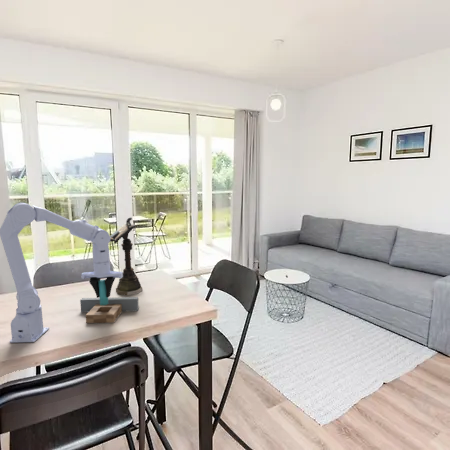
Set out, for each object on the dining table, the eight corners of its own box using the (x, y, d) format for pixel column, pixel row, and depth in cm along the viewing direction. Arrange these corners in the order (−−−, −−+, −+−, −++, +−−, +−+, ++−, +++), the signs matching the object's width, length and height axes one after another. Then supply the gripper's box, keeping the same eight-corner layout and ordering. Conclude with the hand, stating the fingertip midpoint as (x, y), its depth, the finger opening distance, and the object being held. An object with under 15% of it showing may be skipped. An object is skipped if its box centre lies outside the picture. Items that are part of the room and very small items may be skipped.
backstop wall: (137, 311, 126) (136, 298, 126) (81, 312, 126) (80, 299, 125) (140, 306, 131) (139, 295, 130) (85, 307, 130) (84, 295, 129)
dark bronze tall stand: (110, 300, 138) (105, 219, 133) (102, 291, 148) (98, 217, 143) (147, 292, 147) (144, 217, 142) (137, 285, 158) (134, 214, 153)
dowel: (106, 305, 119) (105, 282, 117) (98, 305, 119) (97, 282, 117) (109, 302, 122) (108, 279, 120) (101, 302, 122) (100, 279, 120)
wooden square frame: (114, 322, 116) (113, 314, 116) (86, 322, 116) (85, 315, 115) (121, 311, 126) (121, 304, 126) (96, 311, 126) (95, 304, 125)
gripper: (124, 258, 122) (126, 292, 124) (85, 258, 122) (88, 293, 123) (118, 263, 115) (120, 299, 117) (78, 263, 115) (80, 299, 116)
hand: (103, 296), depth 120 cm, fingers closed on dowel, 3 cm apart
